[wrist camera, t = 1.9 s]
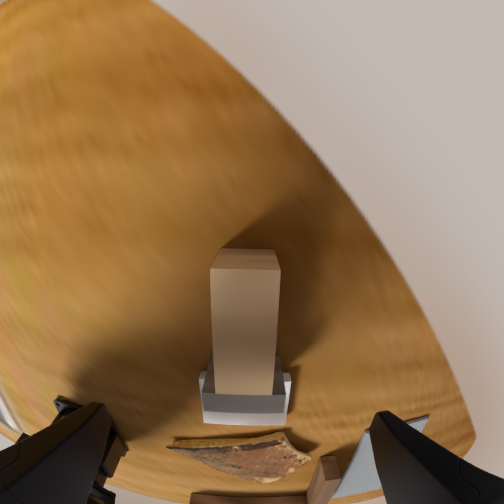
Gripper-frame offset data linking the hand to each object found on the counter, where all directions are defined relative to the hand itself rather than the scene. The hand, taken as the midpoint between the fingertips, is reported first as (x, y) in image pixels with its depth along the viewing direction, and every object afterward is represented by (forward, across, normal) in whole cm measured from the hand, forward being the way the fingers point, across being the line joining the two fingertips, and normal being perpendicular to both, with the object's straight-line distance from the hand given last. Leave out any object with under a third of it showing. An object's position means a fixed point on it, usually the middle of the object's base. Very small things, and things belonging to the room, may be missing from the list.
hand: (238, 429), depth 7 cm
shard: (+10, 0, +16) cm, 19 cm away
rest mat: (+9, -14, +19) cm, 26 cm away
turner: (+10, 0, +3) cm, 10 cm away
